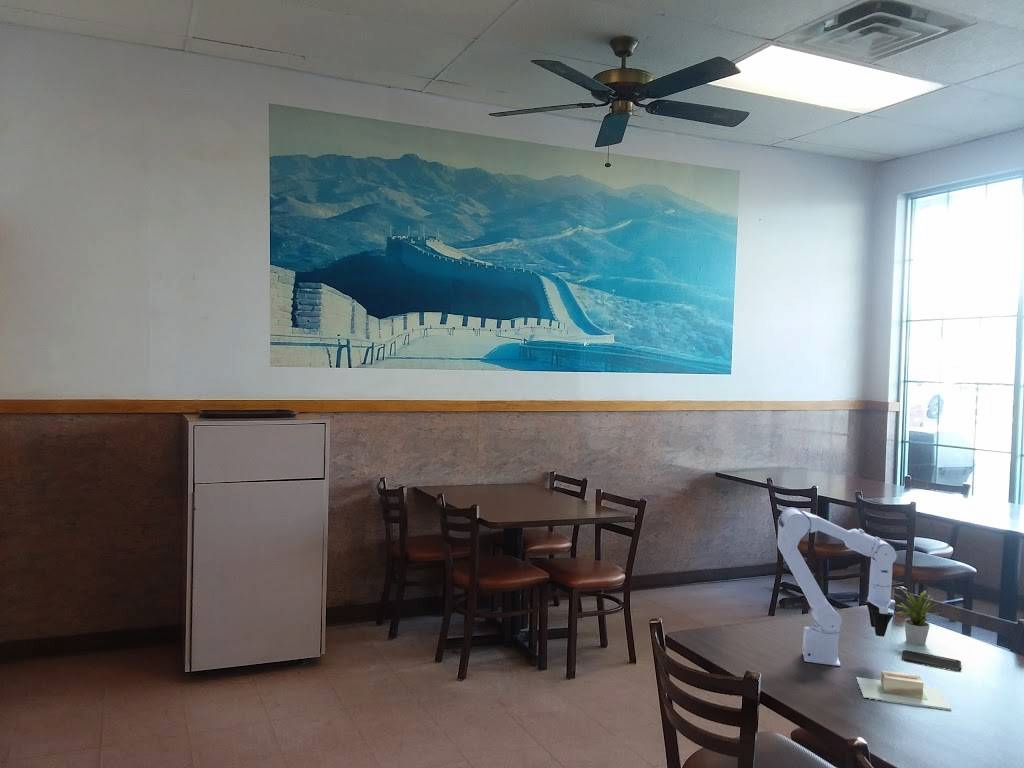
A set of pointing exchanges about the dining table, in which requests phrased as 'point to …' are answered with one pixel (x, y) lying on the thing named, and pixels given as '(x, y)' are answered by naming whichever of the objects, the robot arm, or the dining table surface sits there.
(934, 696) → the mat
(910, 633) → the house plant
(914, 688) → the card box
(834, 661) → the robot arm
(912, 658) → the phone
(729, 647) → the dining table surface
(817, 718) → the dining table surface
